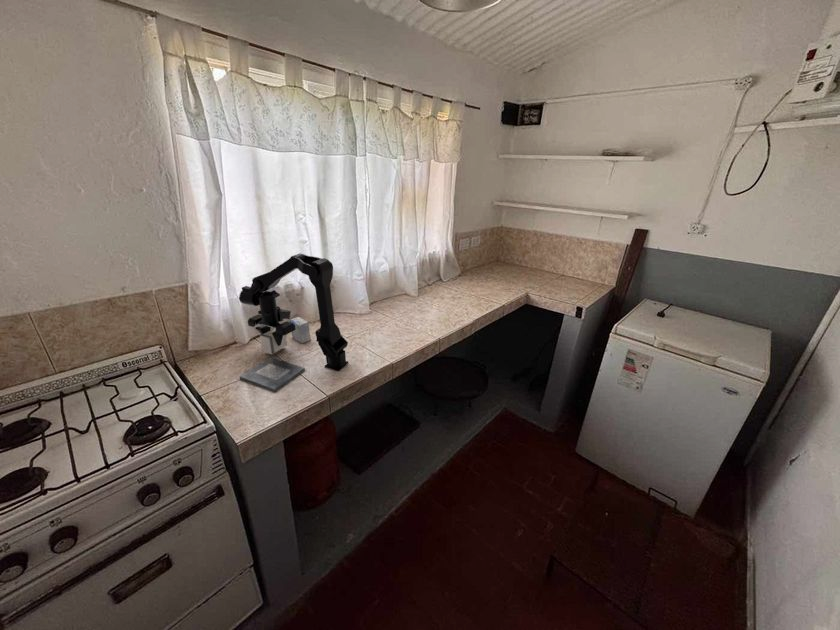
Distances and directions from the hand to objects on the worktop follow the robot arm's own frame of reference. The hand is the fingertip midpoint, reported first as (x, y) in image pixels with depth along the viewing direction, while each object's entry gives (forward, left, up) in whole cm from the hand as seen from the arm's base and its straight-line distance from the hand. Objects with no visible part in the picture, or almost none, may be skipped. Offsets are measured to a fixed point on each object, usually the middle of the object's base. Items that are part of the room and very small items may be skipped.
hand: (274, 344), depth 127 cm
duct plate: (-11, +12, -4) cm, 17 cm away
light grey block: (0, 0, -2) cm, 2 cm away
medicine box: (-1, -13, -4) cm, 14 cm away
